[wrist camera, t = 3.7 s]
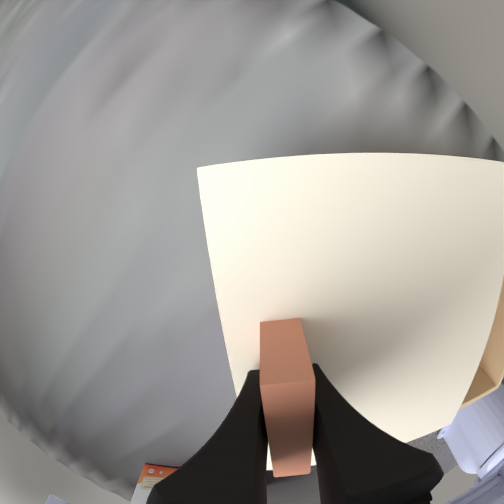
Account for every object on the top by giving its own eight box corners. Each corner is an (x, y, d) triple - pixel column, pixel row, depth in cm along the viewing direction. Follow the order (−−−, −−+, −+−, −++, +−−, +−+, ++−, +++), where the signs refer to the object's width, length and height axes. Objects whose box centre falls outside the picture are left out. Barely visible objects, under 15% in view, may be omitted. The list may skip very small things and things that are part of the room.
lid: (447, 418, 13) (469, 454, 9) (255, 463, 14) (254, 513, 10) (501, 162, 8) (559, 168, 4) (200, 168, 9) (160, 163, 5)
